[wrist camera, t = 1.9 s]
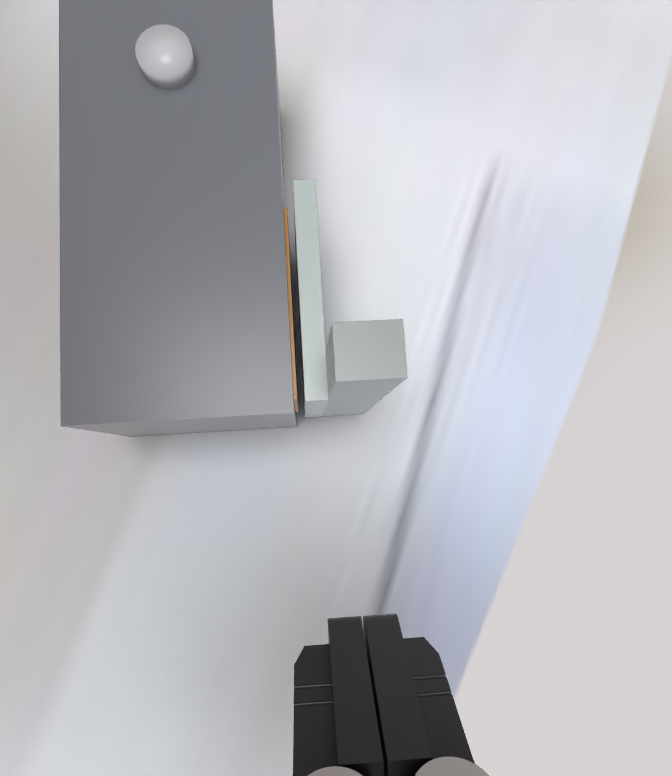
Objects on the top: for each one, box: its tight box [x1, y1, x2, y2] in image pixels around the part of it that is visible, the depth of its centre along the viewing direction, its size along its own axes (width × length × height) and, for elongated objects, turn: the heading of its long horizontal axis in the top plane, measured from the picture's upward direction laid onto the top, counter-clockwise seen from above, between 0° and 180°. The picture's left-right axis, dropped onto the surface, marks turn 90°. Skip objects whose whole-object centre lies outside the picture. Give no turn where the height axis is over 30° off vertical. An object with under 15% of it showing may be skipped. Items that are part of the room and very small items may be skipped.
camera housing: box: [59, 0, 298, 437], centre depth 30 cm, size 22×10×11 cm, turn 3°
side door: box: [293, 180, 407, 418], centre depth 28 cm, size 10×3×15 cm, turn 3°
